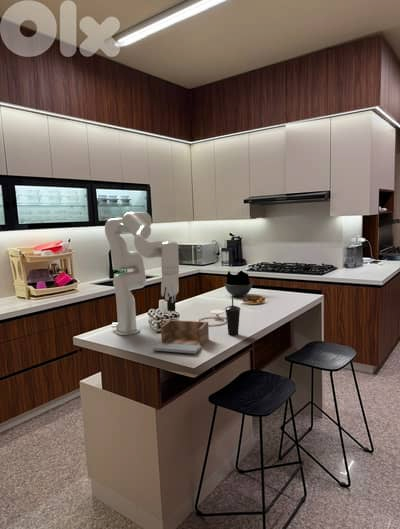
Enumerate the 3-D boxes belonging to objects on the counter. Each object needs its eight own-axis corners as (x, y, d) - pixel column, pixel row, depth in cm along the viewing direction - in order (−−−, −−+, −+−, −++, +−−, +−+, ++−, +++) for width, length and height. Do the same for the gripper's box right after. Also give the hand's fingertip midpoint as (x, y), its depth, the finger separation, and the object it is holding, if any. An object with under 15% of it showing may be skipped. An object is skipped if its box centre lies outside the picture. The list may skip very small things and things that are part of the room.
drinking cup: (239, 332, 189) (239, 293, 187) (241, 336, 182) (241, 297, 179) (224, 332, 189) (224, 294, 186) (226, 337, 181) (225, 297, 179)
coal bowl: (256, 295, 274) (256, 269, 272) (245, 300, 257) (244, 274, 255) (232, 292, 285) (232, 268, 282) (220, 298, 268) (219, 272, 265)
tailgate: (160, 345, 173) (152, 350, 164) (160, 342, 173) (152, 347, 164) (201, 348, 167) (195, 353, 158) (201, 345, 167) (195, 350, 158)
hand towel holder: (190, 317, 205) (207, 308, 223) (191, 325, 205) (207, 315, 223) (218, 320, 197) (233, 311, 215) (218, 328, 197) (233, 318, 215)
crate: (161, 344, 174) (160, 326, 173) (170, 337, 185) (169, 319, 184) (202, 347, 168) (201, 328, 167) (208, 339, 179) (208, 321, 178)
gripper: (168, 267, 170) (170, 305, 173) (155, 272, 156) (156, 314, 158) (184, 267, 167) (185, 306, 170) (171, 273, 153) (173, 316, 156)
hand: (171, 310), depth 164 cm, fingers closed
